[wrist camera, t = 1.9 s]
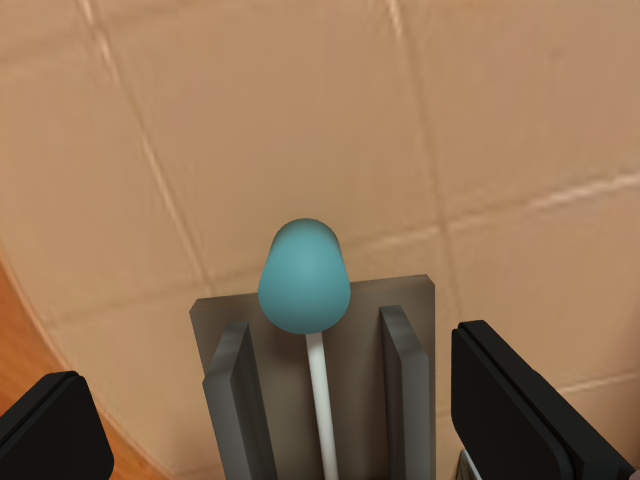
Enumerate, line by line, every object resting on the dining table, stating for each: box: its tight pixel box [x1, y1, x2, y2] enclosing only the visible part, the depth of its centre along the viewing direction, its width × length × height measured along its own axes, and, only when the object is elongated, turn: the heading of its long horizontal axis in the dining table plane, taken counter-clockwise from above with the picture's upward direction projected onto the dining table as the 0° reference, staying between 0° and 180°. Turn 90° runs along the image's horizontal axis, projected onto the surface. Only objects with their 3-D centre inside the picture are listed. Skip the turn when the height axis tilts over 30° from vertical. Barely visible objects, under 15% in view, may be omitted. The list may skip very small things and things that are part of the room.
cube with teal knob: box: [258, 218, 350, 480], centre depth 19 cm, size 6×25×5 cm, turn 6°
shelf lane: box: [189, 274, 436, 480], centre depth 21 cm, size 14×22×6 cm, turn 6°
